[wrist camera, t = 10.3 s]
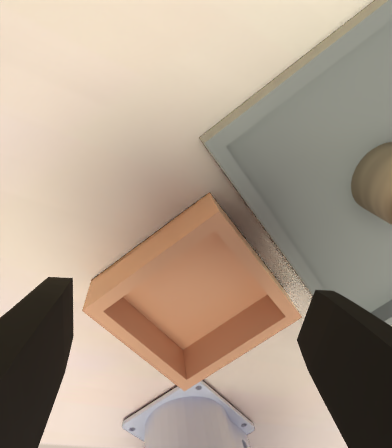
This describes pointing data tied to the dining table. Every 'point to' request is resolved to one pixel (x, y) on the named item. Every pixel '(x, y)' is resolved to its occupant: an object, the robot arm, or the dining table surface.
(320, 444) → the dining table surface
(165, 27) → the dining table surface
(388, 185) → the birch peg
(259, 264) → the square terracotta tray
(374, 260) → the slate tray
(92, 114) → the dining table surface
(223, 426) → the robot arm
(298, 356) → the dining table surface
